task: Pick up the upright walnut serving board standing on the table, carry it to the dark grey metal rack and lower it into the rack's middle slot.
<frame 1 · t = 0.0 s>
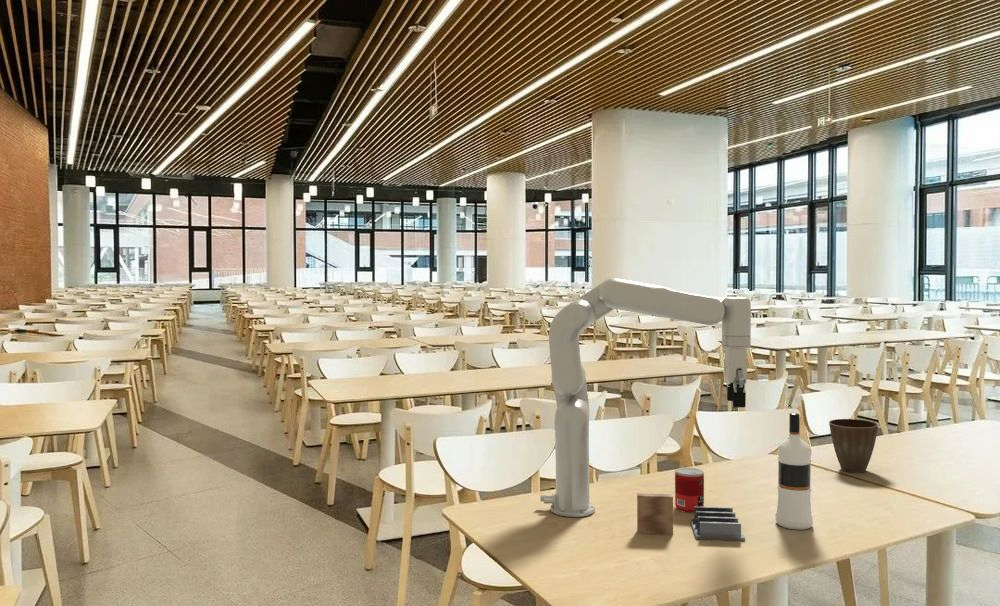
hand: (736, 403, 208), 31 cm above the table, tool pointing down, fingers open, 9 cm apart
canned food: (689, 509, 216), on the table
vodka: (794, 525, 202), on the table
plant pot: (852, 470, 256), on the table
rack: (716, 531, 198), on the table
board: (655, 533, 197), on the table
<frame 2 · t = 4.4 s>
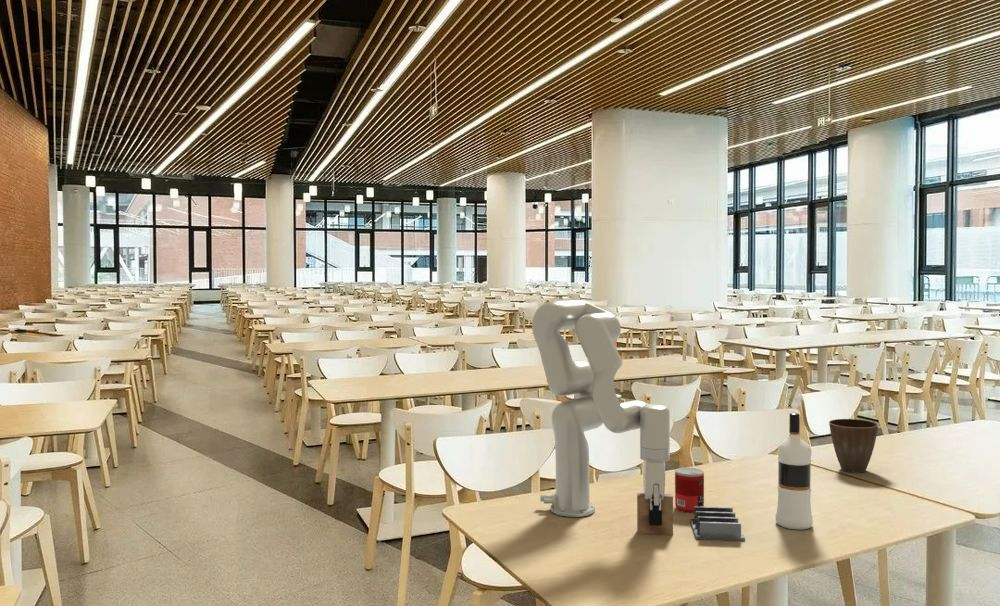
hand: (655, 522, 197), 3 cm above the table, tool pointing down, fingers closed on board, 2 cm apart
board: (655, 532, 197), on the table, touching gripper
everything else where it was.
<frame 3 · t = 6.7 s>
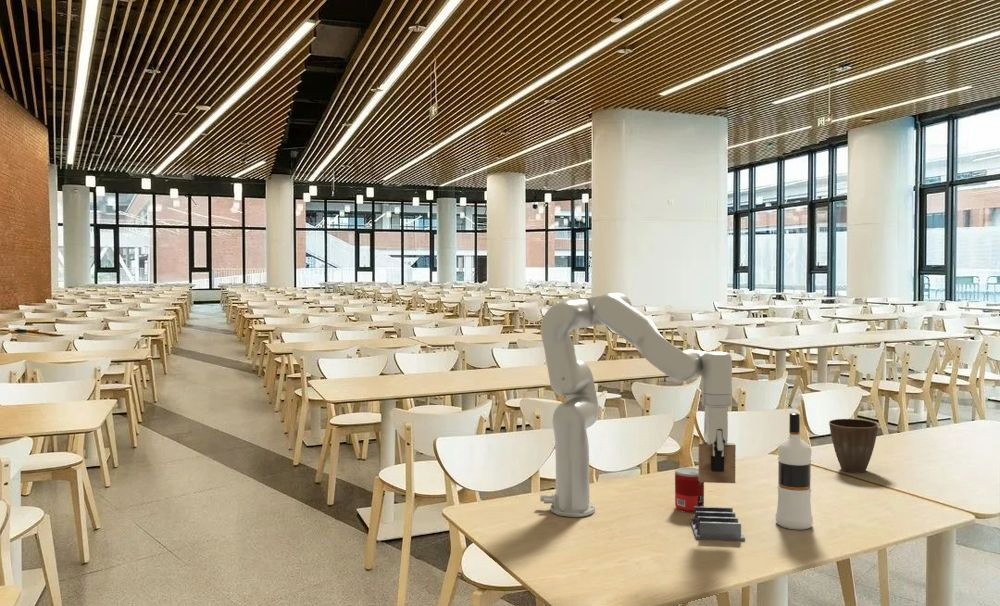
hand: (716, 469, 197), 16 cm above the table, tool pointing down, fingers closed on board
board: (716, 481, 197), point 13 cm above the table, touching gripper
everything else where it was.
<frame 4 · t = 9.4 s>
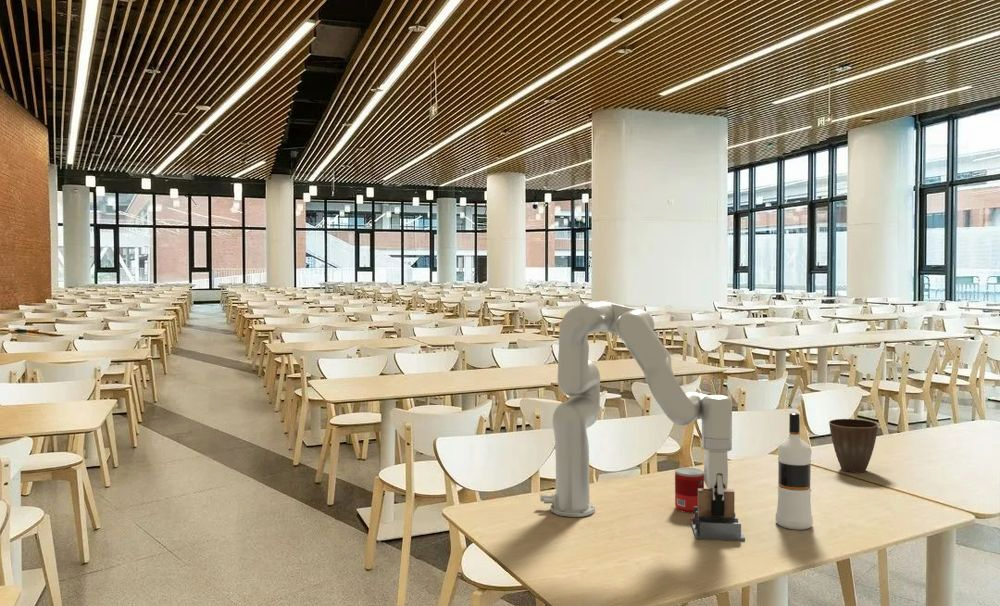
hand: (716, 512, 197), 5 cm above the table, tool pointing down, fingers open, 3 cm apart
board: (715, 527, 198), point 1 cm above the table, touching rack
everything else where it was.
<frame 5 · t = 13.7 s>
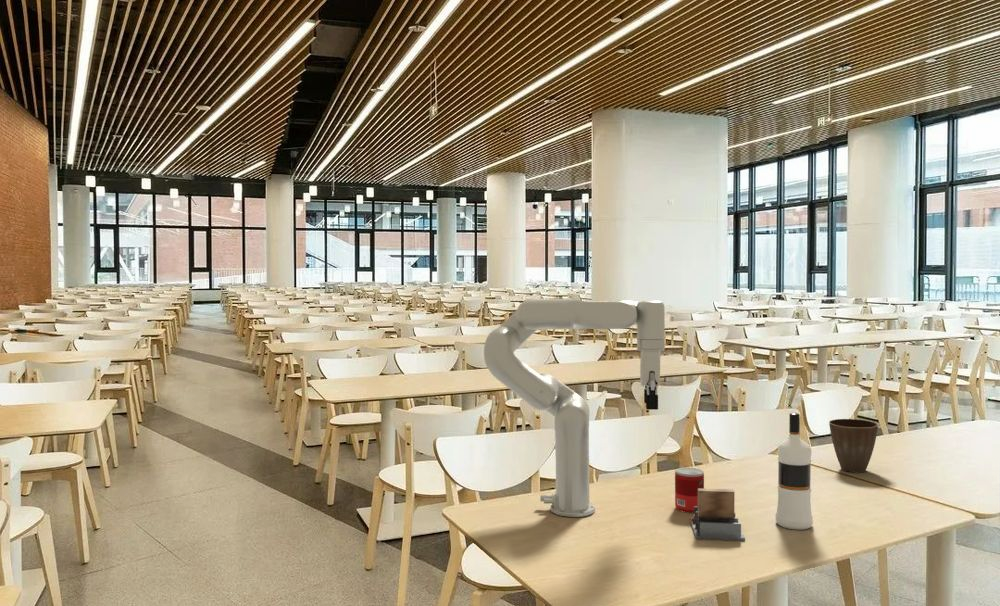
hand: (651, 406, 211), 30 cm above the table, tool pointing down, fingers open, 9 cm apart
nothing on the table moved.
at the end: board 0.2 cm off-centre on the rack, point 0.8 cm above the rack's base; board tilted 0°; the gripper is holding nothing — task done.
